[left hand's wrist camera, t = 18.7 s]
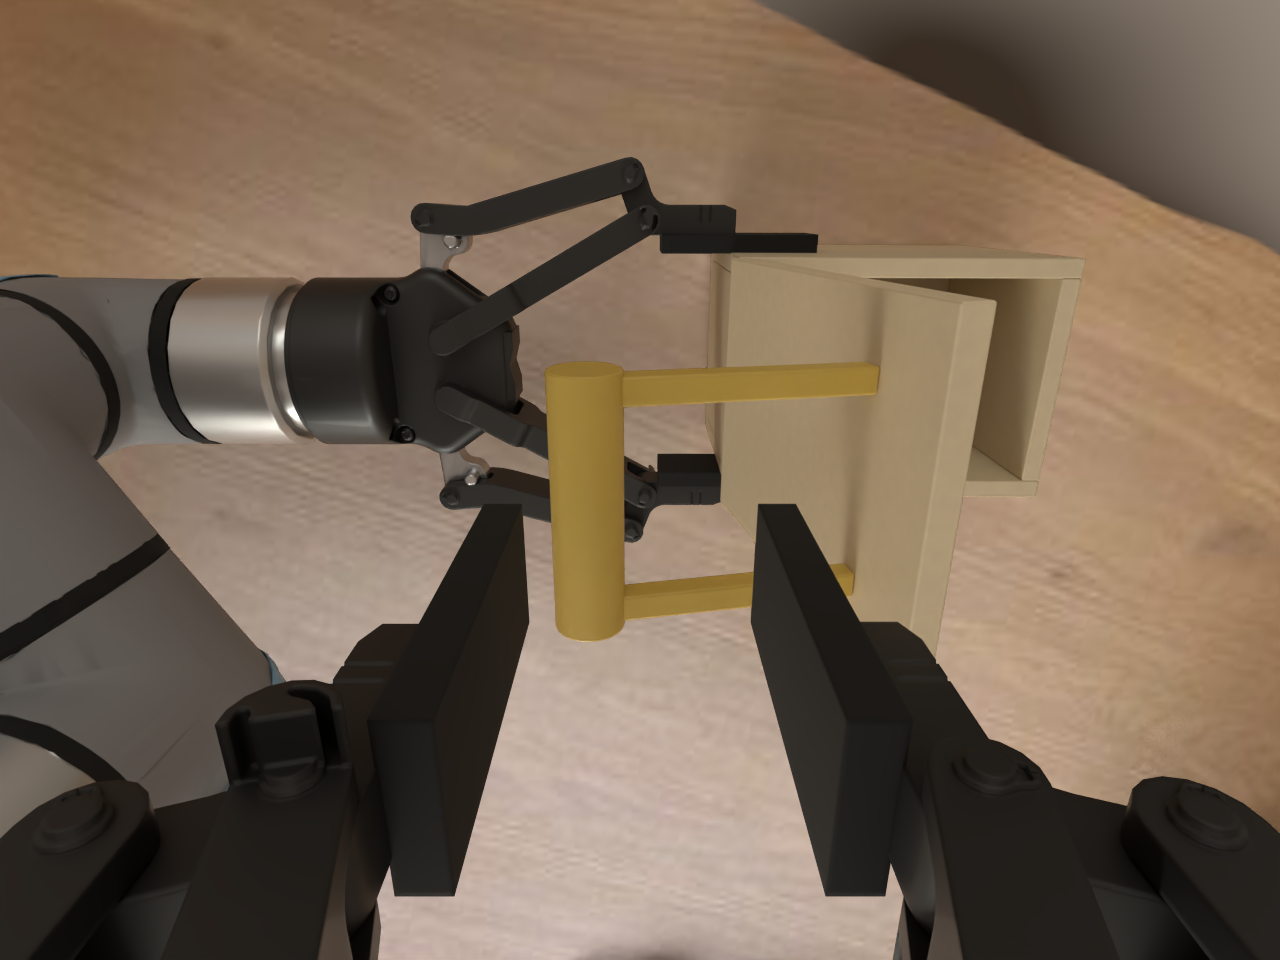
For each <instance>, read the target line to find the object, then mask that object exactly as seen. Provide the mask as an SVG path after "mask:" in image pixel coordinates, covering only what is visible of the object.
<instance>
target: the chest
mask: <svg viewBox="0 0 1280 960" xmlns="http://www.w3.org/2000/svg"><path fill="white" fill-rule="evenodd" d="M732 258H754V259H760V260H766V261H771V262H777V263H783V264H789V265H794V266H800V267H806V268H812V269H817V270H823V271H829V272H835V273H840V274H846V275H852V276H858V277H863V278H869V279H875V280H881V281H886V282H892V283H898V284H904V285H909V286H915V287H921V288H927V289H932V290H938V291H944V292H950V293H955V294H961V295H967V296H973V297H978V298H984V299H990V300H994V301H996V302H997V306H996V312H995V318H994V323H993V329H992V335H991V340H990V346H989V352H988V358H987V363H986V369H985V375H984V380H983V386H982V392H981V398H980V403H979V409H978V415H977V420H976V426H975V432H974V438H973V443H972V449H971V455H970V460H969V466H968V472H967V478H966V483H965V489H964V495H963V497H1035V496H1036V491H1037V487H1038V480H1039V477H1040V472H1041V468H1042V463H1043V458H1044V454H1045V449H1046V444H1047V439H1048V435H1049V430H1050V425H1051V421H1052V416H1053V411H1054V407H1055V402H1056V397H1057V393H1058V388H1059V383H1060V378H1061V374H1062V369H1063V364H1064V360H1065V355H1066V350H1067V346H1068V341H1069V336H1070V332H1071V327H1072V322H1073V318H1074V313H1075V308H1076V303H1077V299H1078V294H1079V289H1080V285H1081V279H1080V278H1082V275H1083V271H1084V266H1085V261H1086V259H1085V258H1077V257H1068V256H1058V255H1049V254H1039V253H1030V252H1020V251H1011V250H1001V249H992V248H982V247H973V246H963V245H817V253H731V254H711V279H710V306H709V333H708V360H707V368H721V367H727V346H728V325H729V303H730V282H731V260H732ZM724 411H725V402H720V403H706V414H705V424H706V428H707V431H708V434H709V437H710V441H711V444H712V447H713V450H714V453H715V456H716V460H717V463H718V466H719V469H720V472H721V475H722V454H723V432H724Z"/></svg>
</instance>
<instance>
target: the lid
mask: <svg viewBox="0 0 1280 960" xmlns="http://www.w3.org/2000/svg"><path fill="white" fill-rule="evenodd" d="M996 306H997V302H996V301H994V300H990V299H984V298H978V297H973V296H967V295H961V294H955V293H950V292H944V291H938V290H932V289H927V288H921V287H915V286H909V285H904V284H898V283H892V282H886V281H881V280H875V279H869V278H863V277H858V276H852V275H846V274H840V273H835V272H829V271H823V270H817V269H812V268H806V267H800V266H794V265H789V264H783V263H777V262H771V261H766V260H760V259H754V258H732V260H731V282H730V303H729V325H728V346H727V367H721V368H696V369H671V370H646V371H623V368H622V367H620V366H617V365H614V364H610V363H603V362H568V363H561V364H556V365H553V366H550V367H548V368H547V369H546V370H545V389H546V412H547V435H548V458H549V481H550V503H551V526H552V549H553V572H554V595H555V618H556V627H557V629H558V631H559V632H560V633H561V634H562V635H563V636H565V637H567V638H569V639H572V640H576V641H581V642H595V641H601V640H605V639H608V638H611V637H613V636H615V635H616V634H618V633H619V632H620V631H621V630H622V628H623V626H624V623H625V621H626V620H635V619H645V618H654V617H663V616H672V615H681V614H690V613H700V612H709V611H718V610H727V609H736V608H746V607H752V593H753V577H754V572H749V573H738V574H728V575H718V576H708V577H698V578H688V579H678V580H668V581H658V582H648V583H638V584H627V585H625V568H624V407H640V406H660V405H680V404H700V403H720V402H725V411H724V432H723V454H722V475H721V497H720V501H721V503H722V504H723V505H724V506H725V507H726V509H727V510H728V511H729V512H730V513H731V515H732V516H733V517H734V518H735V519H736V521H737V522H738V523H739V524H740V525H741V527H742V528H743V529H744V530H745V531H746V533H747V534H748V535H749V536H750V538H751V539H752V540H753V541H754V542H755V544H756V528H757V512H758V504H796V505H797V507H798V509H799V511H800V512H801V514H802V516H803V518H804V520H805V522H806V523H807V525H808V527H809V529H810V531H811V533H812V534H813V536H814V538H815V540H816V542H817V544H818V545H819V547H820V549H821V551H822V553H823V555H824V556H825V558H826V560H827V562H828V564H829V566H830V567H831V569H832V571H833V573H834V575H835V577H836V579H837V580H838V582H839V584H840V586H841V588H842V590H843V591H844V593H845V595H846V597H847V599H848V601H849V602H850V604H851V606H852V608H853V610H854V612H855V613H856V615H857V617H858V619H859V621H860V622H899V623H900V624H902V625H903V626H904V627H906V628H907V629H909V630H910V631H911V632H913V633H914V634H916V635H917V636H918V637H920V638H921V639H922V640H923V641H924V643H925V644H926V646H927V647H928V649H929V650H930V652H931V653H932V655H933V656H934V658H935V655H936V649H937V643H938V637H939V632H940V626H941V620H942V615H943V609H944V603H945V598H946V592H947V586H948V580H949V575H950V569H951V563H952V558H953V552H954V546H955V540H956V535H957V529H958V523H959V518H960V512H961V506H962V500H963V495H964V489H965V483H966V478H967V472H968V466H969V460H970V455H971V449H972V443H973V438H974V432H975V426H976V420H977V415H978V409H979V403H980V398H981V392H982V386H983V380H984V375H985V369H986V363H987V358H988V352H989V346H990V340H991V335H992V329H993V323H994V318H995V312H996Z"/></svg>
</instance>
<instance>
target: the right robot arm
mask: <svg viewBox="0 0 1280 960" xmlns="http://www.w3.org/2000/svg"><path fill="white" fill-rule="evenodd" d="M620 194H622V197H623V200H624V203H625V206H626V209H627V211H628V213H627V214H626V215H624V216H622V217H621V218H619V219H617V220H616V221H614V222H612V223H611V224H609V225H607V226H606V227H604V228H602V229H601V230H599V231H597V232H596V233H594V234H592V235H591V236H589V237H587V238H586V239H584V240H582V241H581V242H579V243H577V244H576V245H574V246H572V247H571V248H569V249H567V250H566V251H564V252H562V253H561V254H559V255H557V256H556V257H554V258H552V259H551V260H549V261H547V262H546V263H544V264H542V265H541V266H539V267H537V268H536V269H534V270H532V271H531V272H529V273H527V274H526V275H524V276H522V277H521V278H519V279H517V280H516V281H514V282H512V283H511V284H509V285H507V286H506V287H504V288H502V289H501V290H499V291H497V292H496V293H494V294H492V295H491V296H489V297H488V296H487V295H485V294H484V293H482V292H481V291H480V290H478V289H477V288H475V287H474V286H472V285H471V284H470V283H468V282H467V281H465V280H464V279H463V278H461V277H460V276H458V275H457V274H456V273H454V272H453V271H451V270H450V269H449V262H450V260H451V259H452V258H453V256H455V255H458V254H462V253H465V252H467V251H468V250H469V249H470V248H471V246H472V242H473V235H481V234H488V233H492V232H496V231H500V230H503V229H507V228H510V227H513V226H517V225H520V224H523V223H527V222H530V221H533V220H537V219H540V218H543V217H547V216H550V215H553V214H557V213H560V212H563V211H567V210H570V209H573V208H577V207H580V206H583V205H587V204H590V203H593V202H597V201H600V200H603V199H607V198H610V197H614V196H617V195H620ZM411 221H412V224H413V226H414V227H415V229H417V230H418V231H419V232H420V255H421V269H419V270H417V271H415V272H414V273H412V274H410V275H408V276H406V277H399V278H314V279H311V280H309V281H308V282H307V283H306V284H305V283H304V282H302V281H300V280H297V279H295V278H194V279H185V280H181V279H129V278H65V277H58V276H57V275H47V274H34V275H14V276H4V277H0V838H1V837H2V836H3V835H4V834H5V833H6V832H7V831H8V830H9V829H10V828H11V827H12V826H13V825H15V824H16V823H17V822H19V821H20V820H21V819H22V818H24V817H25V816H26V815H27V814H29V813H30V812H31V811H33V810H34V809H35V808H36V807H38V806H40V805H42V804H44V803H45V802H47V801H49V800H51V799H53V798H55V797H57V796H59V795H61V794H62V793H64V792H67V791H70V790H73V789H75V788H79V787H81V786H85V785H88V784H91V783H94V782H102V781H109V780H117V779H120V780H126V781H132V782H137V783H139V784H140V785H141V786H142V787H143V788H144V789H146V790H147V791H148V792H149V796H150V799H151V802H152V806H153V809H156V808H160V807H164V806H169V805H173V804H177V803H182V802H186V801H190V800H195V799H199V798H203V797H208V796H211V795H214V794H218V793H221V792H224V791H227V789H228V787H229V781H228V777H227V773H226V769H225V765H224V761H223V757H222V753H221V749H220V745H219V741H218V737H217V733H216V729H215V724H216V722H217V721H218V720H219V718H220V717H221V716H222V715H223V713H224V712H225V711H226V710H227V709H228V708H229V707H231V706H232V705H234V704H235V703H236V702H238V701H239V700H241V699H242V698H243V697H245V696H247V695H249V694H251V693H254V692H256V691H258V690H260V689H263V688H265V687H267V686H271V685H275V684H279V683H284V682H286V681H285V679H284V678H283V676H282V675H281V674H280V672H279V670H278V668H277V666H276V664H275V663H274V661H273V660H272V659H271V658H270V657H269V656H268V654H267V653H265V652H263V651H262V650H260V649H259V648H257V647H256V646H255V644H254V643H253V642H252V641H251V640H250V639H249V638H248V636H247V635H246V634H245V633H244V632H243V631H242V630H241V629H240V627H239V626H238V625H237V624H236V623H235V622H234V621H233V619H232V618H231V617H230V616H229V615H228V614H227V613H226V612H225V610H224V609H223V608H222V607H221V606H220V605H219V604H218V602H217V601H216V600H215V599H214V598H213V597H212V596H211V595H210V593H209V592H208V591H207V590H206V589H205V588H204V587H203V586H202V584H201V583H200V582H199V581H198V580H197V579H196V578H195V576H194V575H193V574H192V573H191V572H190V571H189V570H188V569H187V567H186V566H185V565H184V564H183V563H182V562H181V561H180V559H179V558H178V557H177V556H176V555H175V554H174V553H173V552H172V550H171V549H170V547H169V546H168V544H167V543H166V542H165V541H164V540H163V539H162V538H161V536H160V535H159V534H158V532H157V531H156V530H155V529H154V528H153V526H152V525H151V524H150V523H149V522H148V521H147V519H146V518H145V517H144V516H143V515H142V513H141V512H140V511H139V510H138V509H137V508H136V506H135V505H134V504H133V503H132V502H131V500H130V499H129V498H128V497H127V496H126V495H125V493H124V492H123V491H122V490H121V489H120V488H119V486H118V485H117V484H116V483H115V482H114V480H113V479H112V478H111V477H110V476H109V475H108V473H107V472H106V471H105V470H104V469H103V467H102V466H101V465H100V464H99V463H98V462H97V459H99V458H102V457H104V456H106V455H108V454H110V453H112V452H114V451H117V450H119V449H122V448H125V447H129V446H135V445H143V444H204V443H206V444H308V443H311V442H313V441H315V440H316V439H318V440H319V441H321V442H323V443H326V444H418V445H422V446H425V447H427V448H429V449H431V450H433V451H435V452H438V453H440V459H441V464H442V470H443V475H444V481H445V486H444V488H443V489H442V491H441V493H440V501H441V503H442V504H443V505H444V507H446V508H448V509H453V510H457V509H471V508H482V507H483V505H484V504H522V512H523V516H526V517H530V518H534V519H538V520H542V521H545V522H549V523H551V503H550V481H549V479H545V478H541V477H538V476H534V475H530V474H526V473H522V472H518V471H514V470H510V469H505V468H496V467H489V464H488V463H487V462H486V461H485V460H484V459H482V458H478V457H473V456H471V455H470V454H468V453H467V451H466V450H465V446H467V445H468V444H469V443H471V442H472V441H473V440H475V439H476V438H477V437H479V436H480V435H482V434H483V433H484V432H487V433H489V434H491V435H493V436H494V437H496V438H498V439H500V440H502V441H504V442H506V443H508V444H510V445H512V446H516V447H523V448H526V449H528V450H530V451H532V452H533V453H535V454H537V455H539V456H541V457H543V458H545V459H547V460H549V458H548V435H547V414H545V413H543V412H541V411H540V410H539V409H538V407H536V406H535V405H534V404H532V403H530V402H528V401H527V400H525V399H523V398H521V397H520V394H521V392H522V391H523V388H522V374H521V371H520V368H519V365H518V362H517V353H518V348H519V343H520V336H519V325H516V324H515V321H514V319H513V316H515V315H517V314H518V313H520V312H521V311H523V310H525V309H526V308H528V307H529V306H531V305H533V304H534V303H536V302H538V301H539V300H541V299H543V298H545V297H546V296H548V295H550V294H551V293H553V292H555V291H556V290H558V289H560V288H561V287H563V286H565V285H567V284H568V283H570V282H572V281H573V280H575V279H577V278H578V277H580V276H582V275H583V274H585V273H587V272H589V271H590V270H592V269H594V268H595V267H597V266H599V265H600V264H602V263H604V262H606V261H607V260H609V259H611V258H612V257H614V256H616V255H617V254H619V253H621V252H622V251H624V250H626V249H628V248H629V247H631V246H633V245H634V244H636V243H638V242H639V241H641V240H643V239H644V238H646V237H648V236H650V235H660V251H661V253H681V254H731V253H817V245H818V235H817V234H809V233H735V227H736V210H735V209H733V208H730V207H728V206H726V205H666V204H663V203H660V202H659V201H658V200H656V198H655V197H654V196H653V194H652V192H651V189H650V186H649V183H648V180H647V177H646V174H645V171H644V168H643V165H642V163H641V162H640V161H639V160H637V159H635V158H632V157H628V158H623V159H620V160H617V161H613V162H610V163H607V164H603V165H600V166H597V167H594V168H590V169H587V170H584V171H580V172H577V173H574V174H571V175H567V176H564V177H561V178H557V179H554V180H551V181H548V182H544V183H541V184H538V185H534V186H531V187H528V188H525V189H521V190H518V191H515V192H511V193H508V194H505V195H502V196H498V197H495V198H492V199H488V200H485V201H482V202H479V203H475V204H472V205H469V206H462V205H450V204H436V203H421V204H418V205H416V206H415V207H414V208H413V210H412V212H411ZM657 469H658V472H655V470H654V468H653V467H652V466H651V465H649V469H648V468H646V467H645V466H643V465H641V464H639V463H637V462H635V461H633V460H631V459H629V458H628V457H626V456H624V542H631V543H633V542H636V541H638V540H639V539H641V537H642V535H643V528H644V526H645V524H646V521H647V519H648V516H649V514H650V512H651V511H652V510H653V509H654V508H655V507H657V506H660V505H691V504H693V505H700V504H701V505H713V504H716V503H719V502H721V501H720V497H721V472H720V469H719V466H718V463H717V460H716V456H715V454H658V461H657Z"/></svg>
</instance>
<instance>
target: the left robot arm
mask: <svg viewBox="0 0 1280 960" xmlns="http://www.w3.org/2000/svg"><path fill="white" fill-rule="evenodd" d="M528 625H529V609H528V593H527V577H526V560H525V544H524V528H523V512H522V504H484V505H483V507H482V509H481V511H480V512H479V514H478V516H477V518H476V520H475V522H474V523H473V525H472V527H471V529H470V531H469V533H468V534H467V536H466V538H465V540H464V542H463V544H462V545H461V547H460V549H459V551H458V553H457V555H456V556H455V558H454V560H453V562H452V564H451V566H450V567H449V569H448V571H447V573H446V575H445V577H444V579H443V580H442V582H441V584H440V586H439V588H438V590H437V591H436V593H435V595H434V597H433V599H432V601H431V602H430V604H429V606H428V608H427V610H426V612H425V613H424V615H423V617H422V619H421V621H420V623H419V624H382V625H380V626H379V627H378V628H376V629H375V630H374V631H372V632H371V633H369V634H368V635H367V636H365V637H364V638H362V639H361V640H360V641H358V643H357V644H356V646H355V647H354V649H353V650H352V652H351V653H350V655H349V656H348V658H347V659H346V661H345V662H344V663H345V664H344V666H342V667H341V668H340V670H339V671H338V673H337V674H336V676H335V677H334V679H333V684H327V683H324V682H320V681H316V680H293V681H288V682H284V683H279V684H275V685H271V686H267V687H265V688H263V689H260V690H258V691H256V692H254V693H251V694H249V695H247V696H245V697H243V698H242V699H241V700H239V701H238V702H236V703H235V704H234V705H232V706H231V707H229V708H228V709H227V710H226V711H225V712H224V713H223V715H222V716H221V717H220V718H219V720H218V721H217V722H216V724H215V729H216V733H217V737H218V741H219V745H220V749H221V753H222V757H223V761H224V765H225V769H226V773H227V777H228V781H229V787H228V789H227V791H224V792H221V793H218V794H214V795H211V796H208V797H203V798H199V799H195V800H190V801H186V802H182V803H177V804H173V805H169V806H164V807H160V808H156V809H153V806H152V802H151V799H150V796H149V792H148V791H147V790H146V789H144V788H143V787H142V786H141V785H140V784H139V783H137V782H132V781H126V780H120V779H117V780H109V781H102V782H94V783H91V784H88V785H85V786H81V787H79V788H75V789H73V790H70V791H67V792H64V793H62V794H61V795H59V796H57V797H55V798H53V799H51V800H49V801H47V802H45V803H44V804H42V805H40V806H38V807H36V808H35V809H34V810H33V811H31V812H30V813H29V814H27V815H26V816H25V817H24V818H22V819H21V820H20V821H19V822H17V823H16V824H15V825H13V826H12V827H11V828H10V829H9V830H8V831H7V832H6V833H5V834H4V835H3V836H2V837H1V838H0V960H378V952H379V943H380V933H381V923H380V916H379V909H378V903H377V897H378V894H379V891H380V889H381V886H382V884H383V881H384V879H385V876H386V873H387V871H388V868H389V866H390V870H391V876H392V882H393V888H394V895H395V896H455V892H456V888H457V885H458V881H459V877H460V874H461V870H462V866H463V863H464V859H465V855H466V852H467V848H468V844H469V841H470V837H471V834H472V830H473V826H474V823H475V819H476V815H477V812H478V808H479V804H480V801H481V797H482V793H483V790H484V786H485V782H486V779H487V775H488V771H489V768H490V764H491V760H492V757H493V753H494V749H495V746H496V742H497V738H498V735H499V731H500V727H501V724H502V720H503V717H504V713H505V709H506V706H507V702H508V698H509V695H510V691H511V687H512V684H513V680H514V676H515V673H516V669H517V665H518V662H519V658H520V654H521V651H522V647H523V643H524V640H525V636H526V632H527V629H528ZM751 625H752V629H753V632H754V636H755V640H756V643H757V647H758V651H759V654H760V658H761V662H762V665H763V669H764V673H765V676H766V680H767V684H768V687H769V691H770V695H771V698H772V702H773V706H774V709H775V713H776V717H777V720H778V724H779V727H780V731H781V735H782V738H783V742H784V746H785V749H786V753H787V757H788V760H789V764H790V768H791V771H792V775H793V779H794V782H795V786H796V790H797V793H798V797H799V801H800V804H801V808H802V812H803V815H804V819H805V823H806V826H807V830H808V834H809V837H810V841H811V844H812V848H813V852H814V855H815V859H816V863H817V866H818V870H819V874H820V877H821V881H822V885H823V888H824V892H825V896H885V895H886V888H887V882H888V876H889V870H890V863H891V865H892V867H893V870H894V872H895V875H896V878H897V880H898V883H899V885H900V888H901V890H902V893H903V896H904V897H903V903H902V909H901V915H900V921H899V926H898V932H897V938H896V944H895V950H894V956H893V960H1280V834H1279V833H1278V832H1277V831H1276V830H1275V829H1274V828H1273V827H1272V826H1271V825H1270V824H1269V823H1268V822H1267V821H1266V820H1264V819H1263V818H1262V817H1260V816H1259V815H1258V814H1257V813H1255V812H1254V811H1253V810H1251V809H1250V808H1249V807H1248V806H1246V805H1245V804H1244V803H1242V802H1240V801H1238V800H1236V799H1234V798H1232V797H1230V796H1228V795H1226V794H1225V793H1223V792H1221V791H1219V790H1217V789H1215V788H1212V787H1209V786H1206V785H1203V784H1200V783H1197V782H1194V781H1191V780H1188V779H1180V778H1172V777H1164V776H1161V777H1155V778H1149V779H1143V780H1142V781H1141V782H1140V783H1139V784H1138V785H1136V786H1135V787H1134V788H1133V789H1132V792H1131V796H1130V799H1129V802H1128V806H1125V805H1121V804H1116V803H1112V802H1107V801H1103V800H1099V799H1094V798H1090V797H1085V796H1081V795H1077V794H1073V793H1069V792H1066V791H1062V790H1059V789H1056V788H1053V787H1052V786H1051V783H1050V782H1049V780H1048V779H1047V777H1046V776H1045V774H1044V773H1043V771H1042V770H1041V768H1040V767H1039V766H1037V765H1036V764H1035V763H1034V762H1032V761H1031V760H1030V759H1029V758H1028V757H1026V756H1025V755H1024V754H1023V753H1021V752H1019V751H1017V750H1015V749H1013V748H1011V747H1009V746H1007V745H1005V744H1003V743H1001V742H998V741H994V740H990V739H989V738H988V737H987V735H986V734H985V732H984V731H983V729H982V728H981V726H980V725H979V724H978V722H977V721H976V719H975V718H974V716H973V715H972V713H971V712H970V710H969V709H968V707H967V706H966V704H965V703H964V701H963V700H962V698H961V697H960V695H959V694H958V692H957V691H956V689H955V688H954V686H953V685H952V683H951V682H950V681H948V680H947V676H946V674H945V673H944V671H943V670H942V668H941V667H940V665H939V664H936V659H935V658H934V656H933V655H932V653H931V652H930V650H929V649H928V647H927V646H926V644H925V643H924V641H923V640H922V639H921V638H920V637H918V636H917V635H916V634H914V633H913V632H911V631H910V630H909V629H907V628H906V627H904V626H903V625H902V624H900V623H899V622H860V621H859V619H858V617H857V615H856V613H855V612H854V610H853V608H852V606H851V604H850V602H849V601H848V599H847V597H846V595H845V593H844V591H843V590H842V588H841V586H840V584H839V582H838V580H837V579H836V577H835V575H834V573H833V571H832V569H831V567H830V566H829V564H828V562H827V560H826V558H825V556H824V555H823V553H822V551H821V549H820V547H819V545H818V544H817V542H816V540H815V538H814V536H813V534H812V533H811V531H810V529H809V527H808V525H807V523H806V522H805V520H804V518H803V516H802V514H801V512H800V511H799V509H798V507H797V505H796V504H758V512H757V528H756V544H755V560H754V577H753V593H752V609H751Z"/></svg>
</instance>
